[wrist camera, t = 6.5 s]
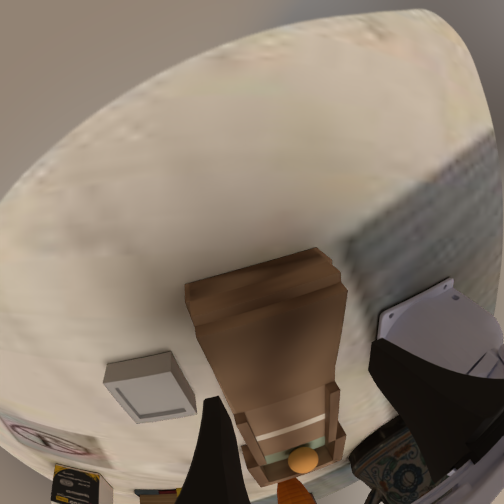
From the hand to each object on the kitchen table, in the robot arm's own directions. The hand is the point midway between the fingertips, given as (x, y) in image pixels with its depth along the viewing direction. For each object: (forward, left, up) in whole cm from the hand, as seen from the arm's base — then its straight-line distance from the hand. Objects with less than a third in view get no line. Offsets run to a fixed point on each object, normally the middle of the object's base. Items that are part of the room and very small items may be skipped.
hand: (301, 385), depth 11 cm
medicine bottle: (+30, +23, -7) cm, 38 cm away
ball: (0, +22, -5) cm, 22 cm away
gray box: (+9, +4, -7) cm, 12 cm away
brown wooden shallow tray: (0, +11, -7) cm, 13 cm away
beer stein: (-15, +36, -7) cm, 40 cm away
